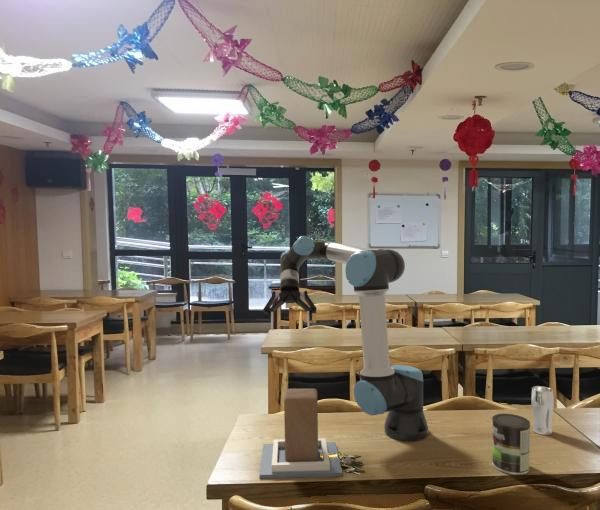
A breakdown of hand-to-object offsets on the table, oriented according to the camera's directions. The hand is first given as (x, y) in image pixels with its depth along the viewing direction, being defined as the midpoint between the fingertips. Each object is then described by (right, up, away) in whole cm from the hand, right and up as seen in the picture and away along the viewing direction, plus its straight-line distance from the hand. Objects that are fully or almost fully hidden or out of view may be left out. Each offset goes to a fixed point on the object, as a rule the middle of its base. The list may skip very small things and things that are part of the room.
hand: (290, 327), depth 172 cm
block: (+4, -36, -27) cm, 45 cm away
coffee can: (+67, -36, -34) cm, 83 cm away
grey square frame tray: (+4, -37, -28) cm, 46 cm away
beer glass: (+89, -35, -10) cm, 96 cm away
